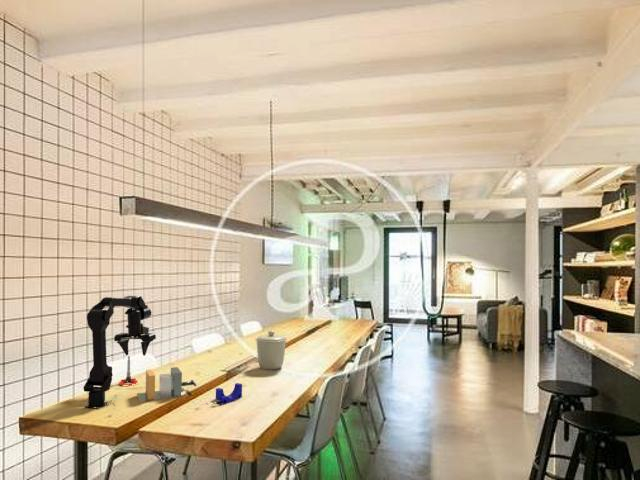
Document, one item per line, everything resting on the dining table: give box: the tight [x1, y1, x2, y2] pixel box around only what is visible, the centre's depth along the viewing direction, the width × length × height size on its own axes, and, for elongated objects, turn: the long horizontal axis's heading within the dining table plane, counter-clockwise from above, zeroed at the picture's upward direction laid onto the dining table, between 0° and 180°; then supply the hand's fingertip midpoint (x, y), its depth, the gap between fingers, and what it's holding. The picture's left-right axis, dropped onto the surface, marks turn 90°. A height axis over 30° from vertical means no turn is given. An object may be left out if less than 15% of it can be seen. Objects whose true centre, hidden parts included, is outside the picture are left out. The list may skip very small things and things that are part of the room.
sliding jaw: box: [145, 369, 156, 401], centre depth 193 cm, size 2×12×10 cm, turn 27°
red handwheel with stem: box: [118, 355, 139, 386], centre depth 218 cm, size 8×13×9 cm
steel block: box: [158, 373, 171, 397], centre depth 196 cm, size 4×7×8 cm, turn 27°
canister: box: [255, 330, 288, 371], centre depth 254 cm, size 18×18×21 cm
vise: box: [136, 366, 197, 402], centre depth 196 cm, size 24×13×12 cm, turn 117°
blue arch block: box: [215, 382, 243, 405], centre depth 193 cm, size 12×4×6 cm, turn 141°
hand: (135, 355), depth 210 cm, fingers open, 9 cm apart
